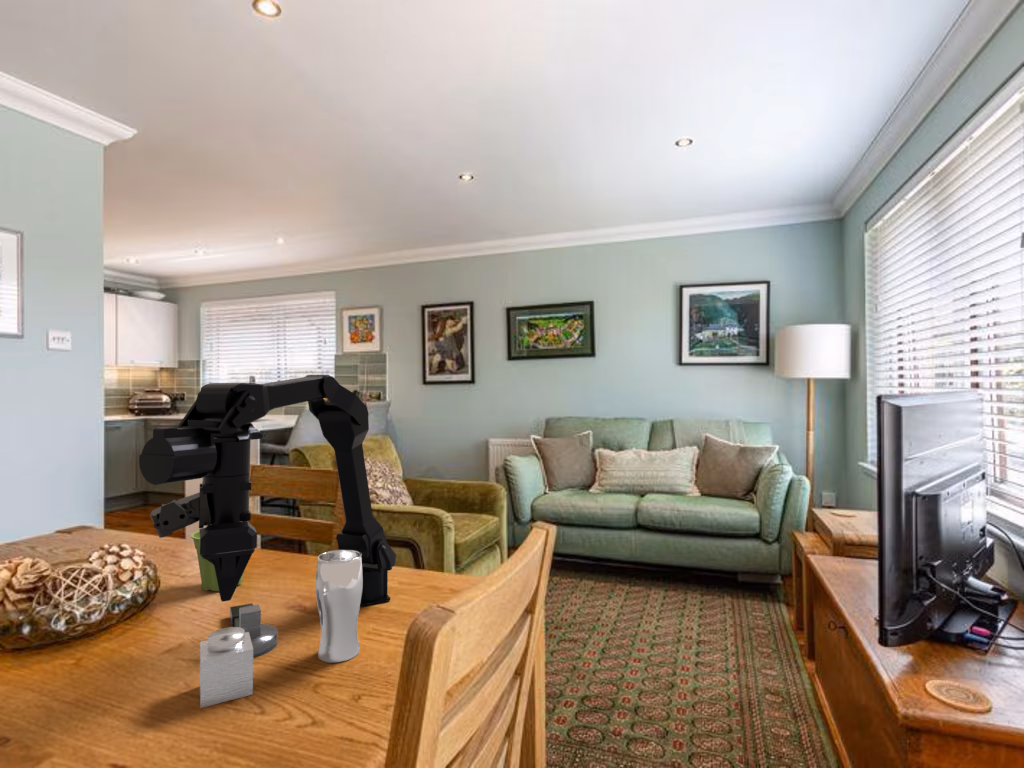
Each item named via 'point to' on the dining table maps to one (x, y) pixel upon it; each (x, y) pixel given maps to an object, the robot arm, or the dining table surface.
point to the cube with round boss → (226, 666)
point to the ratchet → (254, 628)
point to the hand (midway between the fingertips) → (224, 589)
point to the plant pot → (206, 567)
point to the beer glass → (339, 603)
